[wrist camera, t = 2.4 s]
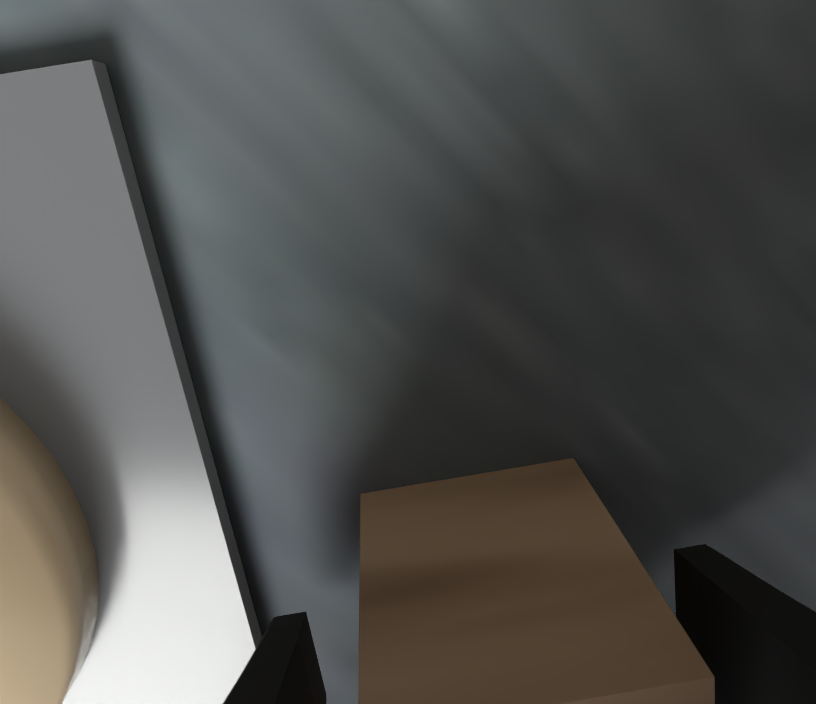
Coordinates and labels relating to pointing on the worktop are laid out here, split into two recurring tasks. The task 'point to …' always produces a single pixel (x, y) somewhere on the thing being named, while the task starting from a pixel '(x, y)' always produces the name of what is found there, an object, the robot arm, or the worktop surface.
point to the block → (513, 598)
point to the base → (100, 429)
